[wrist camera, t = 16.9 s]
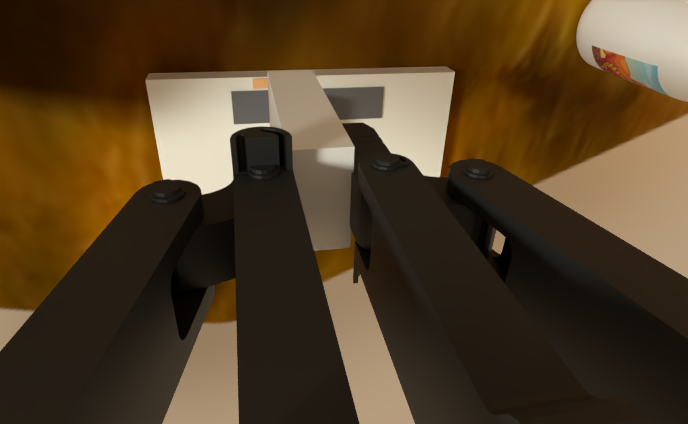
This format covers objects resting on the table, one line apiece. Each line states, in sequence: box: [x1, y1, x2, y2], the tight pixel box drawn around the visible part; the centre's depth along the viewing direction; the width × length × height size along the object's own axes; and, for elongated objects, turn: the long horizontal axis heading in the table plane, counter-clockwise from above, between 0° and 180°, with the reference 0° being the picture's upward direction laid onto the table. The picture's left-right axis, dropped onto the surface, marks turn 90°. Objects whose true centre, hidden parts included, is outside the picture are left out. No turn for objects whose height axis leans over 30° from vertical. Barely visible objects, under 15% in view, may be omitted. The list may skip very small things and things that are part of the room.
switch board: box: [145, 66, 455, 195], centre depth 45 cm, size 26×12×2 cm, turn 89°
